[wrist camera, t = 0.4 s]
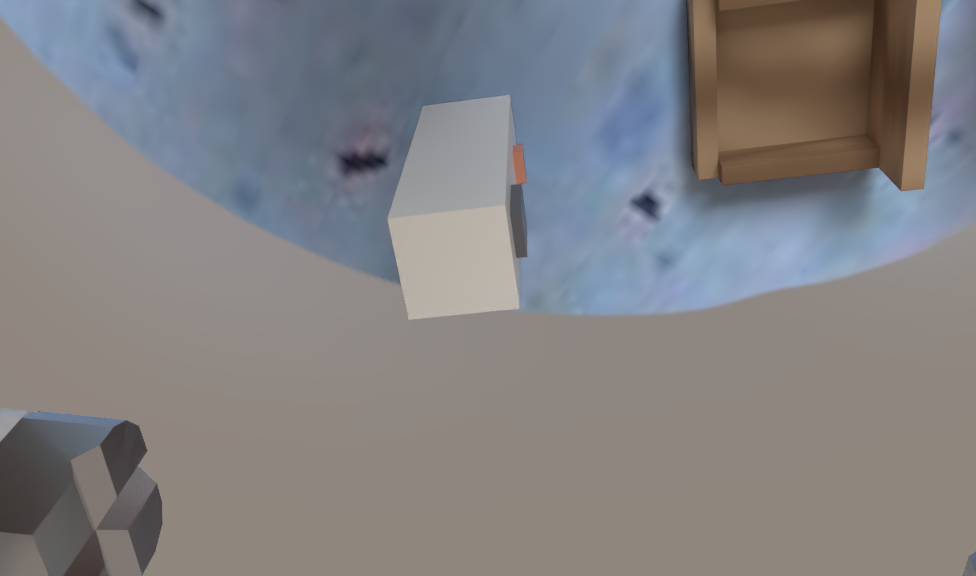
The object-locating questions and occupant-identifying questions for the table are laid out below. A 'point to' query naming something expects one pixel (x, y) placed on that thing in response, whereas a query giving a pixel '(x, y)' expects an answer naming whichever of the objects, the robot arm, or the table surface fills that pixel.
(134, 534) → the robot arm
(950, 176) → the table surface
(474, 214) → the cream block
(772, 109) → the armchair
